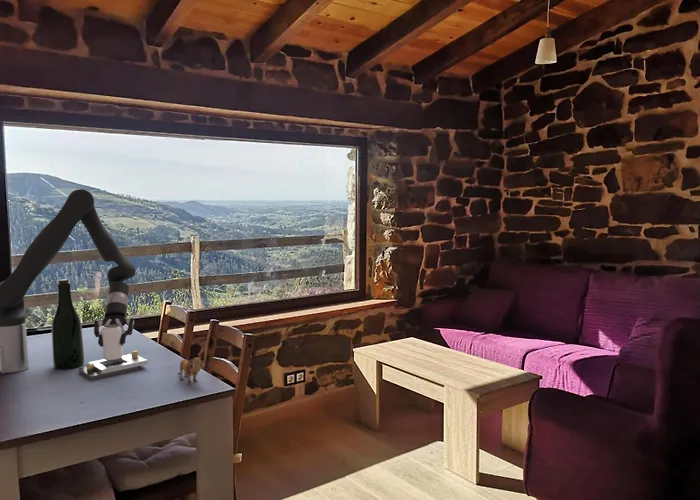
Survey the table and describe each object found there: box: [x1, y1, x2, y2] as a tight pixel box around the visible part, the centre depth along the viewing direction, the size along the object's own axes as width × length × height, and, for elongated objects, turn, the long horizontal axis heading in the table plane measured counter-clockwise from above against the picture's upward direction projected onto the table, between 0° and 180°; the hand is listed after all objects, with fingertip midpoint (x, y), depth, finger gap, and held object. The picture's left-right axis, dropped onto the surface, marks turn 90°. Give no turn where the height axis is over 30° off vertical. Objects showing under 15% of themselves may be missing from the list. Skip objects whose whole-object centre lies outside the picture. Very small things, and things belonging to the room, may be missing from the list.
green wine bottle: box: [51, 278, 85, 370], centre depth 205 cm, size 10×10×33 cm
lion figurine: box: [177, 356, 206, 385], centre depth 187 cm, size 15×5×9 cm, turn 48°
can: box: [101, 324, 124, 360], centre depth 199 cm, size 6×6×12 cm
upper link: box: [88, 349, 148, 374], centre depth 201 cm, size 16×13×4 cm
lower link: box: [78, 362, 139, 381], centre depth 199 cm, size 16×13×4 cm
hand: (111, 344), depth 198 cm, fingers closed on can, 6 cm apart
